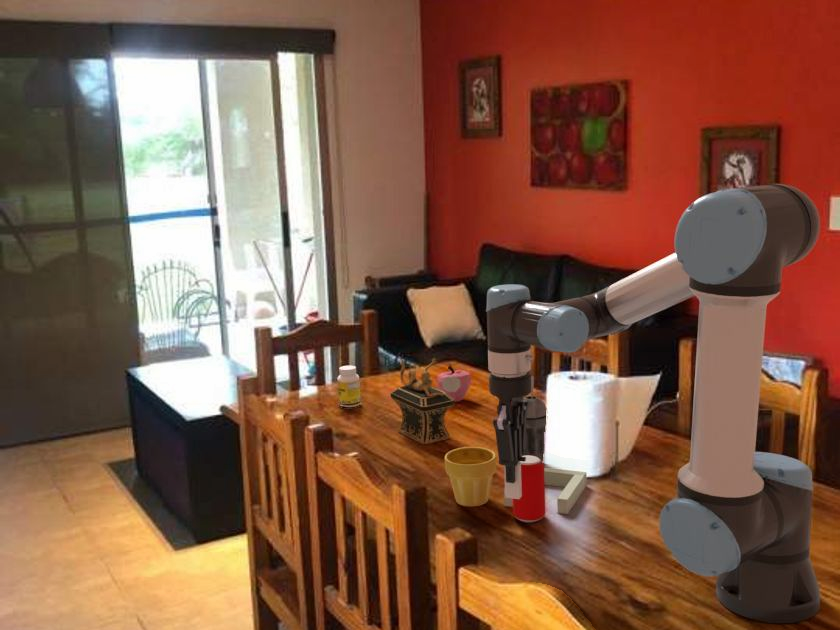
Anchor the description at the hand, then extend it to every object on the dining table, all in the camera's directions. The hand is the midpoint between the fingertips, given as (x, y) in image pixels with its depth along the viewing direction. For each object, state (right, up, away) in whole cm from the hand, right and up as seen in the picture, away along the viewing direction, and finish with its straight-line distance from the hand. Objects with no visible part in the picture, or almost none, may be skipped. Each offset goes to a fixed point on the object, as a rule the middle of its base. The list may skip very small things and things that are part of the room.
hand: (513, 496), depth 164 cm
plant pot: (-6, -5, +19) cm, 21 cm away
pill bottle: (-37, +8, +88) cm, 96 cm away
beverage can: (+4, -6, +10) cm, 12 cm away
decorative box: (-17, +3, +62) cm, 64 cm away
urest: (+9, -4, +20) cm, 22 cm away
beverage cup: (+8, 0, +38) cm, 39 cm away
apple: (-7, +9, +88) cm, 89 cm away
